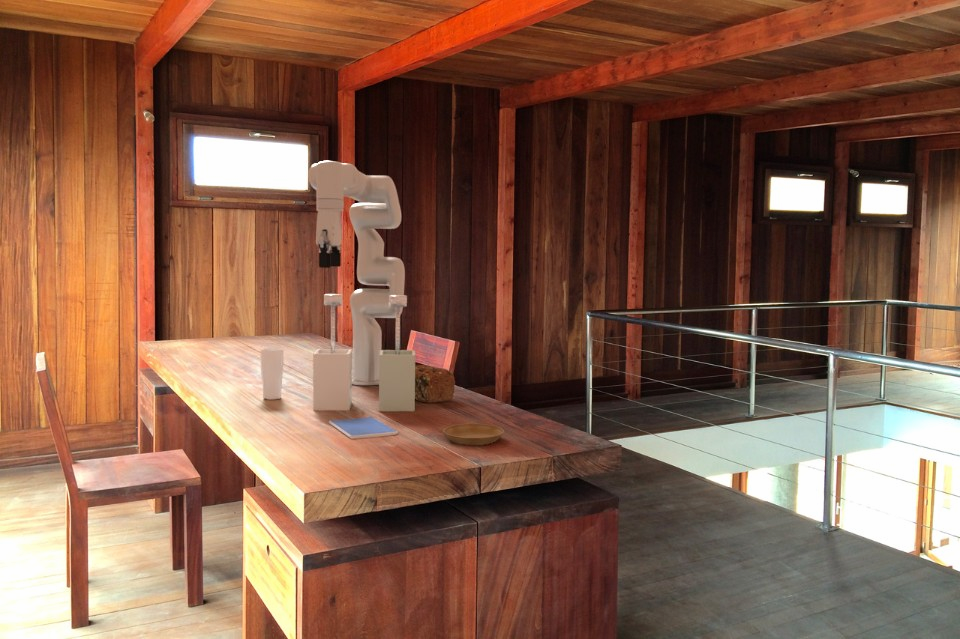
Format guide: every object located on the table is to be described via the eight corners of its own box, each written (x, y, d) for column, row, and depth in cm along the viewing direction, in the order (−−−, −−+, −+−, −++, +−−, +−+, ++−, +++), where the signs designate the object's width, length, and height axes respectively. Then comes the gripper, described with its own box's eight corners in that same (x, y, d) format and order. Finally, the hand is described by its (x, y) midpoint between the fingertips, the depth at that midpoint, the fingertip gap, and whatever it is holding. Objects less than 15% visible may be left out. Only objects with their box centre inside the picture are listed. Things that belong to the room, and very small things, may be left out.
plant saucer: (456, 450, 188) (456, 439, 188) (434, 436, 201) (434, 425, 201) (513, 445, 194) (514, 434, 193) (488, 431, 207) (488, 421, 207)
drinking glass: (277, 401, 239) (277, 350, 237) (256, 399, 240) (256, 349, 239) (287, 396, 246) (287, 347, 244) (267, 395, 247) (266, 347, 245)
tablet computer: (327, 424, 213) (327, 419, 213) (373, 420, 218) (373, 415, 218) (350, 441, 196) (350, 436, 195) (399, 436, 201) (399, 431, 201)
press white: (317, 403, 237) (317, 349, 236) (351, 403, 238) (351, 349, 236) (313, 410, 227) (313, 353, 226) (349, 410, 228) (349, 354, 227)
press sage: (380, 404, 237) (380, 350, 236) (414, 404, 238) (414, 350, 237) (379, 411, 227) (379, 354, 226) (414, 411, 228) (415, 355, 227)
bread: (455, 401, 244) (455, 368, 243) (424, 404, 238) (425, 371, 237) (424, 391, 260) (424, 360, 259) (395, 394, 254) (395, 362, 253)
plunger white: (320, 364, 235) (320, 293, 233) (347, 364, 236) (347, 293, 234) (318, 368, 227) (317, 295, 225) (345, 368, 228) (345, 295, 226)
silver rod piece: (384, 365, 235) (384, 294, 233) (410, 365, 236) (411, 294, 234) (383, 369, 228) (384, 296, 226) (410, 369, 228) (411, 296, 226)
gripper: (326, 207, 236) (326, 265, 238) (307, 204, 219) (307, 267, 221) (351, 207, 235) (351, 266, 237) (334, 204, 218) (334, 268, 220)
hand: (330, 267), depth 229 cm, fingers open, 9 cm apart
